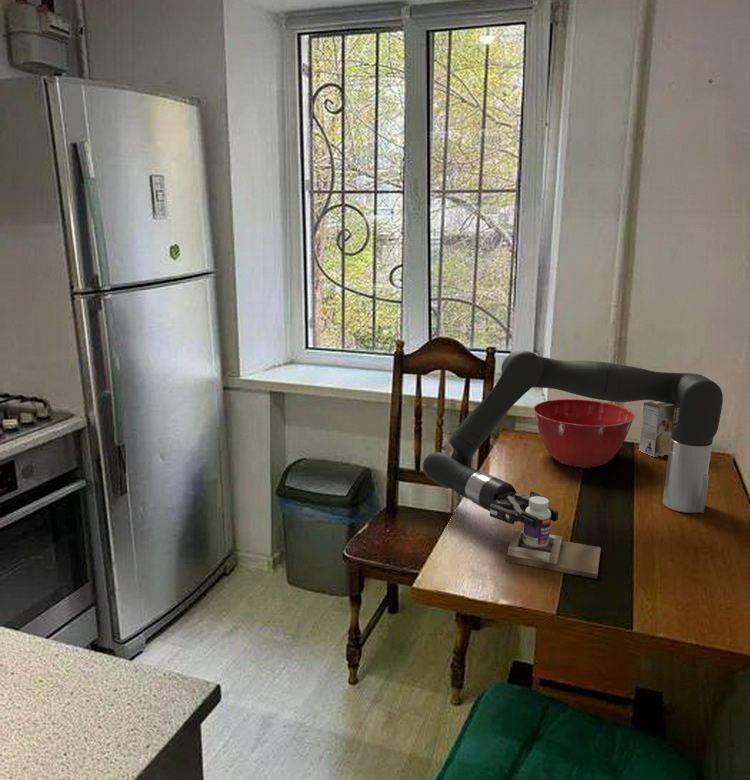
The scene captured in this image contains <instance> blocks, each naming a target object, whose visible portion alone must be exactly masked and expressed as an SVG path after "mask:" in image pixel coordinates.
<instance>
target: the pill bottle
mask: <svg viewBox="0 0 750 780" xmlns="http://www.w3.org/2000/svg"><path fill="white" fill-rule="evenodd" d="M540 496H541V495H540ZM540 496H534V497H531V498H530V499H529V507H527V508H526V510H525V512H526V513H528V514H530V515H532V516H534V517H536V518H538V519H539V527H538V528H536V529H534V528H532V527H530V526H528V525H526V524H524V523H523V529H522V530H523V541H524V543H525V544H527V545H529V546H532V547H544V546H546V545H548V542H549V534H550V532H551V531H550V530H551V522H552V520H551V512H550V510H549V509H548V506H549V505H550V501H549V499H548V498H546V497H544V496H542V497H540ZM549 507H550V506H549Z"/></svg>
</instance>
